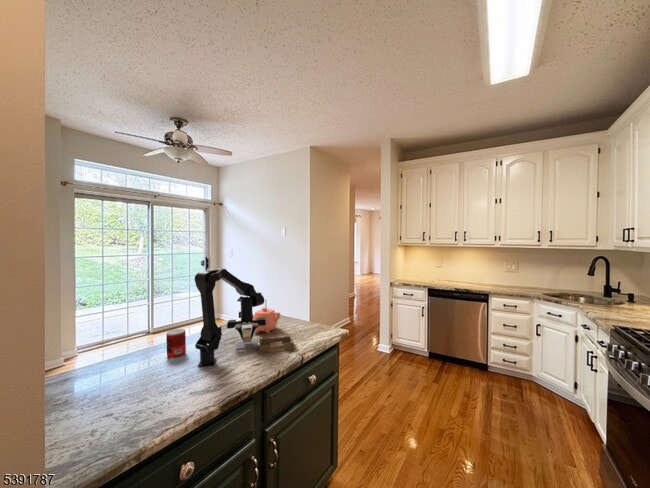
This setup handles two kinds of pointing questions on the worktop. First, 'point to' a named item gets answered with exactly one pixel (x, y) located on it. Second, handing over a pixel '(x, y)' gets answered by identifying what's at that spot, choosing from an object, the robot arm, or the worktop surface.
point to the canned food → (176, 343)
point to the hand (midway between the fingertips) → (247, 339)
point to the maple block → (246, 335)
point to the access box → (276, 344)
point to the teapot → (270, 319)
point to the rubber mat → (247, 345)
